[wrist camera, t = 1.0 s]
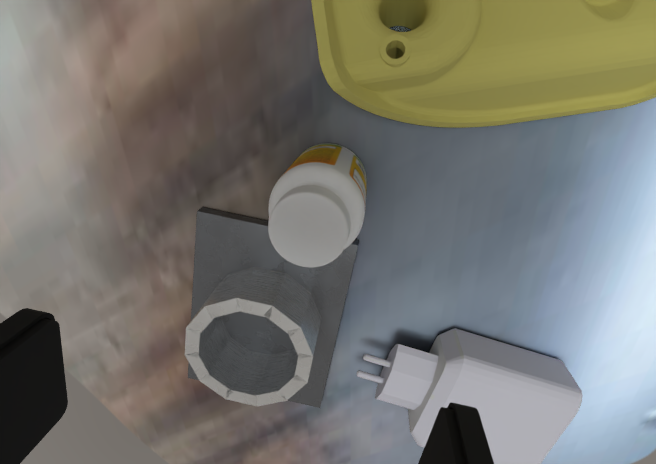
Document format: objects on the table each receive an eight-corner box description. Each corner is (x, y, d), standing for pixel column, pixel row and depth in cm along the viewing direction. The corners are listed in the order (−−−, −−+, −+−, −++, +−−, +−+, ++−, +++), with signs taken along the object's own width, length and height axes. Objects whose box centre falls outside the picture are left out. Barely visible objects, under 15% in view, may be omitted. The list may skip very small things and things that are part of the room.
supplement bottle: (278, 190, 29) (234, 245, 20) (316, 126, 27) (286, 154, 18) (340, 229, 29) (325, 299, 21) (382, 169, 27) (385, 217, 18)
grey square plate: (202, 206, 30) (167, 234, 25) (358, 240, 30) (355, 275, 25) (192, 369, 36) (162, 418, 31) (321, 399, 36) (312, 453, 31)
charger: (378, 300, 32) (558, 354, 32) (345, 384, 35) (507, 433, 35) (379, 336, 27) (588, 399, 27) (341, 429, 31) (525, 484, 31)
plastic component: (740, -181, 18) (787, 34, 17) (630, -52, 25) (658, 102, 24) (299, -96, 19) (323, 103, 18) (317, 2, 27) (335, 148, 26)
